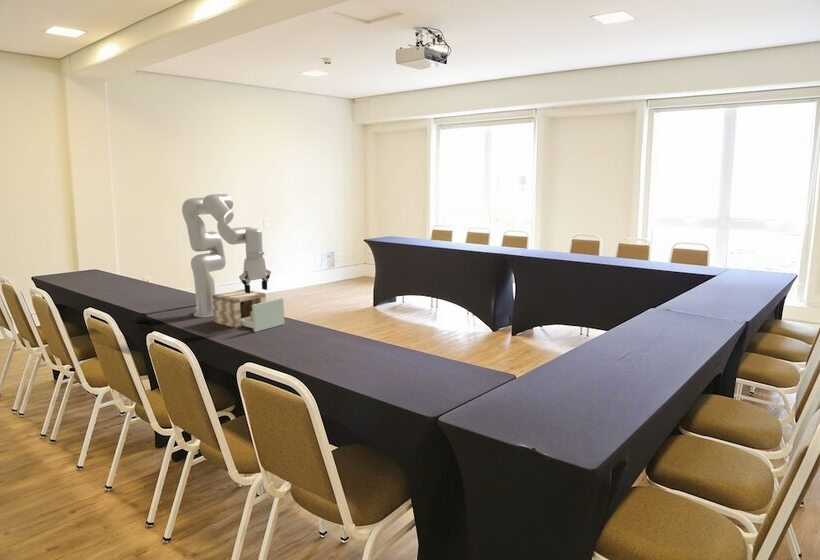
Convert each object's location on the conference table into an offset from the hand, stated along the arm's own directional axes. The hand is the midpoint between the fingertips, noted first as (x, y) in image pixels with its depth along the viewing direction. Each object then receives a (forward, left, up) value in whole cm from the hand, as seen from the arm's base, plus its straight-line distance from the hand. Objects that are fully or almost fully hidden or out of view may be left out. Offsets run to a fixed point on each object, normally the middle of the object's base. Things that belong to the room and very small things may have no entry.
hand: (256, 291), depth 271 cm
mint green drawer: (0, 0, -17) cm, 16 cm away
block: (+1, 0, -16) cm, 16 cm away
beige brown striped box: (-14, 0, -17) cm, 22 cm away
